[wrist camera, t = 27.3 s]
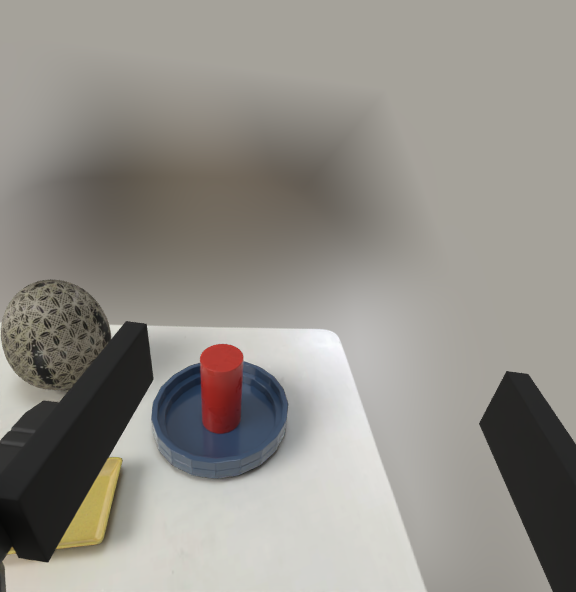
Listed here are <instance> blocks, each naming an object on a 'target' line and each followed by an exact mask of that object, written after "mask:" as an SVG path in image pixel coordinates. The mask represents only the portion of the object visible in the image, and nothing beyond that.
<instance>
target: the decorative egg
mask: <svg viewBox="0 0 576 592" xmlns="http://www.w3.org/2000/svg"><path fill="white" fill-rule="evenodd" d="M110 340H111V332H110V327H109V324H108V321H107V318H106V316H105V314H104V312H103V310H102V309H101V307H100V305H99V304H98V303H97V301H96V300H95V299H94V298H93V297H92V296H91V295H90V294H89V293H88V292H86V291H85V290H84V289H82V288H80V287H78V286H76V285H74V284H71V283H69V282H65V281H60V280H43V281H38V282H35V283H32V284H30V285H28V286H26V287H25V288H23V289H22V290H21V291H20V292H19V293H18V294H16V295H15V297H14V298H13V299H12V300H11V302H10V303H9V305H8V307H7V309H6V311H5V313H4V316H3V319H2V326H1V341H2V346H3V350H4V353H5V356H6V358H7V361H8V363H9V364H10V366H11V367H12V369H13V370H14V371H15V373H16V374H17V375H18V376H19V377H21V378H22V379H23V380H24V381H26V382H28V383H29V384H31V385H34V386H36V387H39V388H43V389H48V390H63V389H69V388H72V386H73V385H74V384H75V383H76V382H77V380H78V379H79V378H80V377H81V376H82V374H83V373H84V372H85V371H86V369H87V368H88V367H89V366H90V365H91V363H92V362H93V361H94V360H95V359H96V357H97V356H98V355H99V354H100V352H101V351H102V350H103V349H104V348H105V346H106V345H107V344H108V343H109V342H110Z"/></svg>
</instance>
